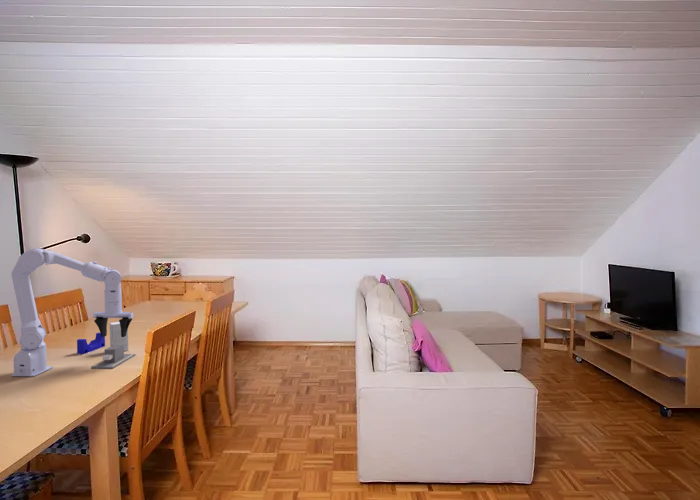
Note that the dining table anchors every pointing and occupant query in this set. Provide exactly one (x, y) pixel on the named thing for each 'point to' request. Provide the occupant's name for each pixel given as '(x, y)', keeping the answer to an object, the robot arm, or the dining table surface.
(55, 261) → the robot arm
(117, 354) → the plug
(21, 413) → the dining table surface
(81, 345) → the blue notched bracket
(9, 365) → the dining table surface
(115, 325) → the skincare box
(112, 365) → the felt mat
